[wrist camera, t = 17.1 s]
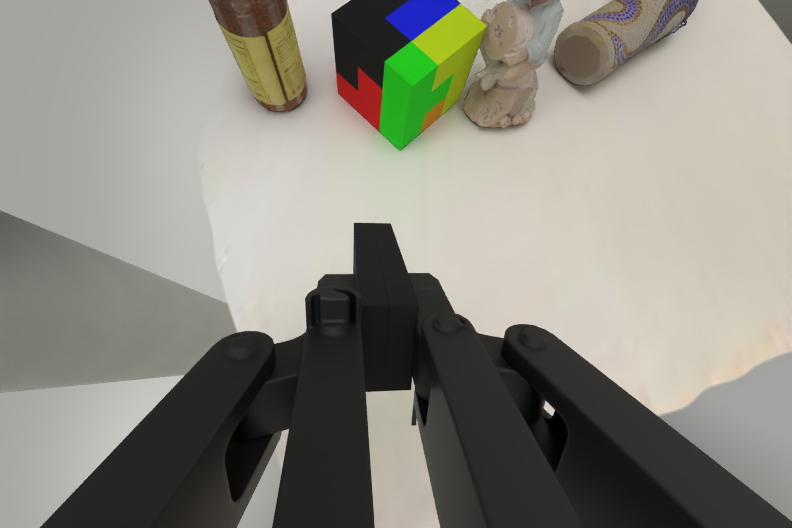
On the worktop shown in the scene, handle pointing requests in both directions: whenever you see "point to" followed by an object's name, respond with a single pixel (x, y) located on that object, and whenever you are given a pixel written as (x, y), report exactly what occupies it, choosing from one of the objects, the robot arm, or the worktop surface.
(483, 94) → the figurine
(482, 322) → the worktop surface
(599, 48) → the decorative bottle
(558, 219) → the worktop surface
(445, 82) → the puzzle toy
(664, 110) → the worktop surface
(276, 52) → the sauce bottle
